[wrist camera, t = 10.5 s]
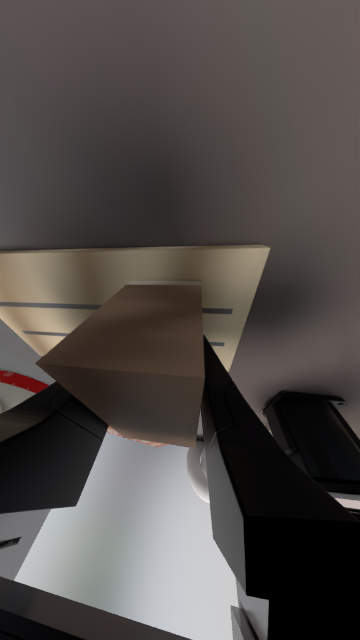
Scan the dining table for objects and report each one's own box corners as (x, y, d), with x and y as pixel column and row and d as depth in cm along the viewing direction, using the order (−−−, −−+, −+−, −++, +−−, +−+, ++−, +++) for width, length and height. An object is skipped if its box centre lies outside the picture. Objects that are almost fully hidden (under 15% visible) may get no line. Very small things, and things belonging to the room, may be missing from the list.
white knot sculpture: (219, 430, 26) (226, 507, 19) (252, 445, 30) (269, 515, 23) (182, 435, 32) (177, 496, 25) (214, 448, 36) (218, 503, 29)
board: (260, 244, 7) (270, 247, 6) (226, 360, 13) (229, 371, 12) (-40, 251, 9) (-68, 255, 8) (50, 347, 15) (40, 355, 14)
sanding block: (200, 280, 7) (204, 377, 3) (196, 360, 11) (194, 447, 7) (130, 280, 7) (35, 363, 3) (151, 356, 12) (123, 437, 7)
